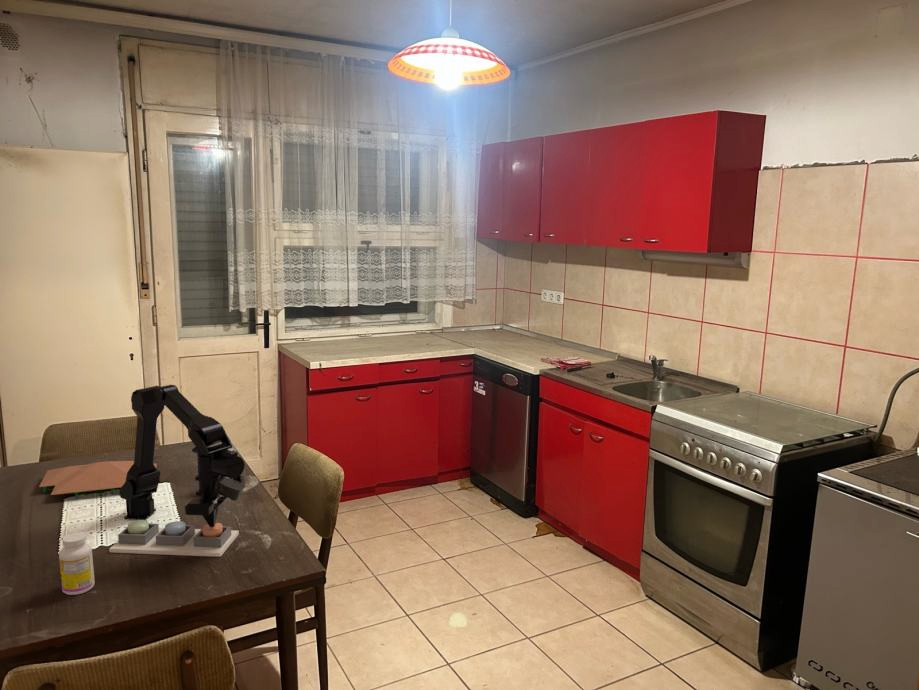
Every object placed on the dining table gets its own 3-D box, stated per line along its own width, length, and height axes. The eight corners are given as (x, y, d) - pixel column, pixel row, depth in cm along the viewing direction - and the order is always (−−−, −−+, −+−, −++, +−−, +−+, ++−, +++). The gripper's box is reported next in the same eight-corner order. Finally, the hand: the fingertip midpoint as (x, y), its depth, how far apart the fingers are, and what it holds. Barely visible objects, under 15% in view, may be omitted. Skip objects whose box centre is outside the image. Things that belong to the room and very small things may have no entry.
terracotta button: (199, 539, 178) (199, 530, 177) (207, 530, 183) (206, 522, 182) (218, 539, 178) (218, 531, 177) (225, 531, 183) (225, 522, 182)
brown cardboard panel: (155, 493, 215) (153, 468, 213) (34, 507, 203) (31, 481, 201) (158, 468, 236) (156, 446, 234) (48, 479, 224) (46, 456, 222)
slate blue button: (162, 537, 178) (161, 529, 178) (170, 529, 183) (170, 520, 183) (180, 538, 178) (180, 529, 178) (189, 529, 183) (188, 521, 183)
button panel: (109, 552, 175) (108, 539, 175) (135, 530, 188) (134, 518, 187) (220, 556, 174) (219, 544, 174) (238, 534, 187) (238, 522, 186)
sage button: (124, 536, 179) (124, 527, 178) (134, 527, 184) (133, 519, 183) (143, 536, 178) (142, 528, 178) (152, 528, 183) (152, 520, 183)
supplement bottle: (70, 581, 161) (66, 530, 159) (99, 580, 162) (95, 530, 159) (56, 596, 154) (51, 543, 152) (87, 595, 155) (82, 543, 153)
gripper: (226, 484, 168) (229, 544, 170) (252, 459, 186) (254, 512, 189) (182, 483, 168) (185, 542, 171) (212, 457, 186) (214, 511, 189)
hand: (212, 526), depth 180 cm, fingers closed
